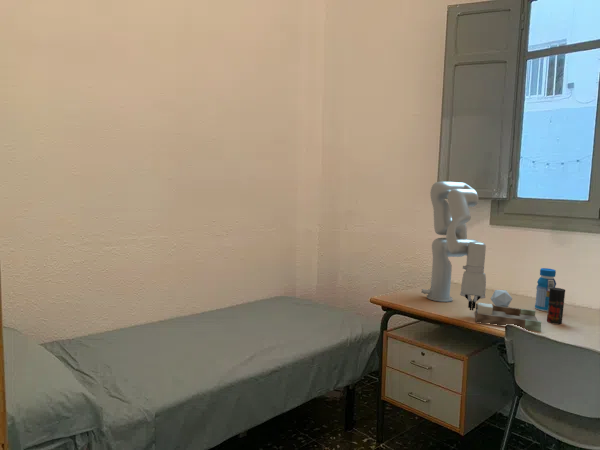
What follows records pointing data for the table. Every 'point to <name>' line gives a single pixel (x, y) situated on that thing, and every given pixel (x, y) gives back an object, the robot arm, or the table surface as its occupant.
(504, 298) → the die
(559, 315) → the deodorant
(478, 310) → the pale blue block
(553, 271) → the beverage bottle
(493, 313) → the box
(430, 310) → the table surface
